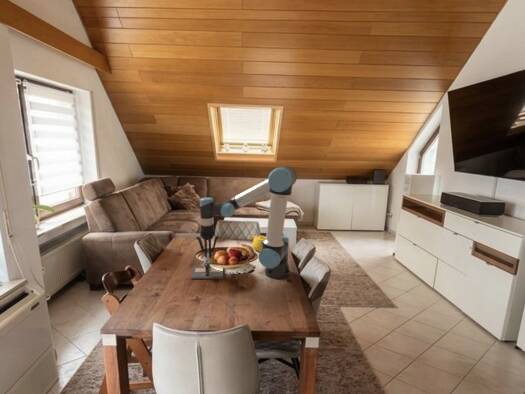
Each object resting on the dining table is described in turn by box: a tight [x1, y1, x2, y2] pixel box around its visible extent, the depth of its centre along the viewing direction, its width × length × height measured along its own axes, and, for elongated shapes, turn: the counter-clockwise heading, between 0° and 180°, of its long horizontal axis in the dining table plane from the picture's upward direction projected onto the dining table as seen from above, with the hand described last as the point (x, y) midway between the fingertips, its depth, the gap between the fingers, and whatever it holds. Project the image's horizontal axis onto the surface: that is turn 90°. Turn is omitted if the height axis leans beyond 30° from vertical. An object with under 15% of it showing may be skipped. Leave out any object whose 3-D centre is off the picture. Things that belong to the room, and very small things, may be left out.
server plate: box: [190, 265, 224, 280], centre depth 180 cm, size 18×14×6 cm
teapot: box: [251, 235, 266, 252], centre depth 218 cm, size 18×11×11 cm, turn 41°
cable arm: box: [203, 255, 211, 268], centre depth 179 cm, size 3×14×2 cm, turn 17°
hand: (208, 262), depth 182 cm, fingers closed
